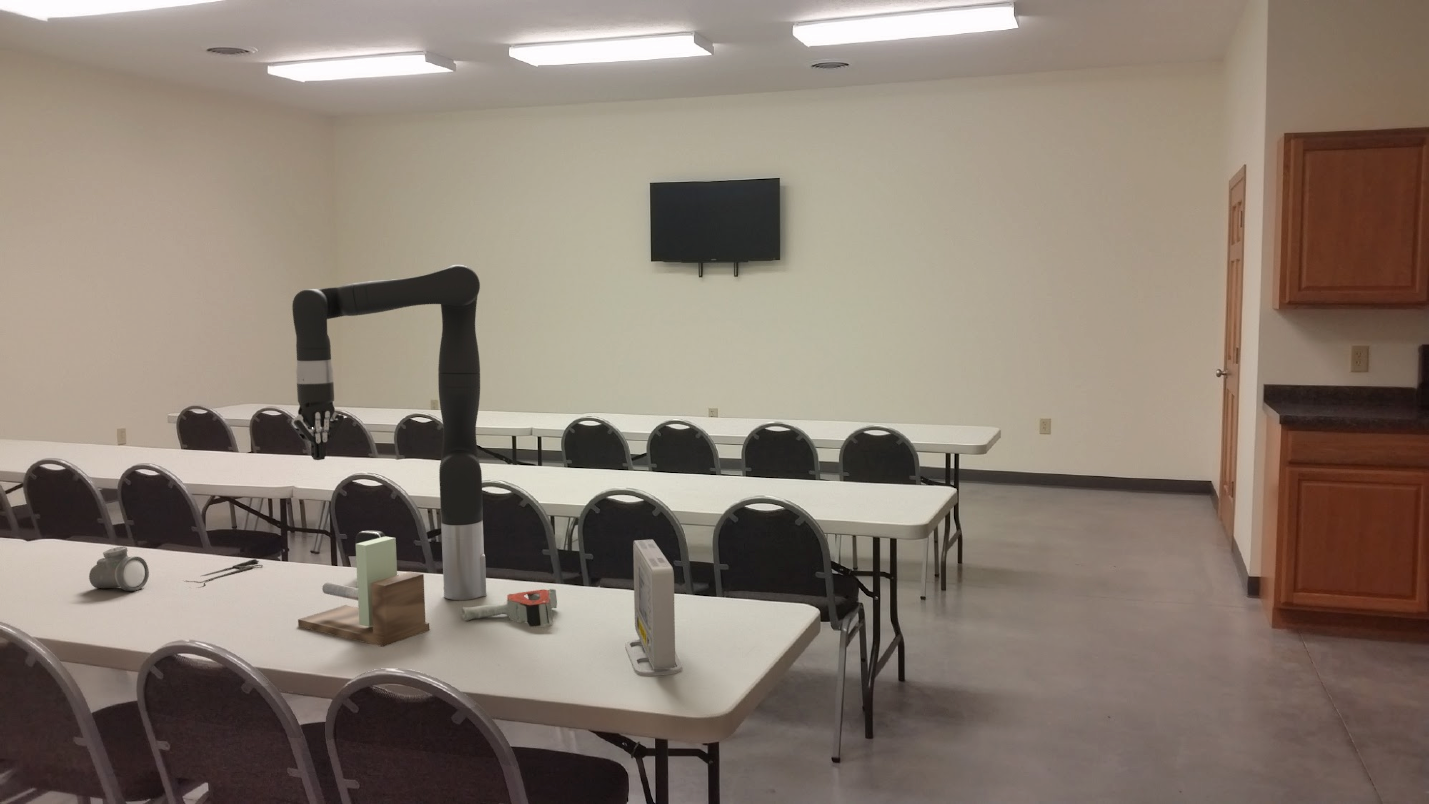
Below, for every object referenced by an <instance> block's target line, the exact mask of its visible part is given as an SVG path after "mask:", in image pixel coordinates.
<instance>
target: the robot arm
mask: <svg viewBox="0 0 1429 804" xmlns="http://www.w3.org/2000/svg"><path fill="white" fill-rule="evenodd" d="M480 289H481V283H480V279H479V277H478V275H477V273H476V272H475V271H474V270H473V269H472V268H470V267H469V266H466V265H463V264H452V265H450V266H448V267H446V268H444V269H441V270H438V271H434V272H430V273H427V274H423V275H419V276H412V277H405V278H404V277H403V278H394V279H380V280H379V279H378V280H370V281H369V280H368V281H361V282H354V283H349V284H344V285H341V286H336V287H325V288H324V287H323V288H305V289H302V290H300V291H299V292H297V293H296V294H295V296H294V298H293V299H292V306H291V310H292V319H293V325H294V332H295V335H296V337H295V338H296V339H295V340H296V342H295V343H296V345H295V347H296V348H295V350H296V371H295V373H296V391H297V396H296V397H297V403H298V404H299V407H298V410H297V414H298V415H296V417H295V418H294V419H290V420H289V421H288V423H289V426H290V427H292V429H293V430H294V431H295V432H296V434H297V435H298V436H299V438H300V439H301V440H302V441H303V442H308V443H310V456H311V457H312V459H313V461H322V460H325V458H326V456H327V445H326V444H327V442H328V441H329V440H330V439H333V438H334V437H335V436H336V433H337V431H338V430H339V428H340V426H341V424H342V422H343V421H344V419H345V416H344V415H343V414H339V413H337V412H336V409H335V406H334V404H333V402H335V388H334V387H335V386H334V384H335V383H334V369H333V363H332V353H331V352H332V350H331V348H332V347H331V346H332V345H331V340H330V337H329V334H328V320H330V319H336V318H341V317H355V316H362V315H363V316H364V315H370V314H379V313H383V312H389V311H394V310H399V309H403V308H409V307H416V306H426V305H440V309H441V310H440V311H441V323H442V324H441V325H442V329H441V331H442V332H441V338H440V345H439V355H438V356H439V357H438V366H437V367H438V369H437V371H438V375H437V376H438V377H437V378H438V380H437V381H438V383H437V384H438V385H437V386H438V397H439V408H440V414H441V420H442V429H443V430H442V431H443V432H442V433H443V434H442V446H441V447H442V448H441V449H442V450H441V457H440V464H439V468H438V469H439V470H438V471H439V478H438V479H439V480H438V481H439V498H440V501H439V502H440V521H441V522H440V523H441V525H440V526H441V547H442V548H441V549H442V569H443V570H442V573H443V574H442V576H443V579H442V581H443V597H444V598H445V599H448V600H453V601H465V600H466V601H467V600H472V599H474V600H475V599H478V598H481V597H486V596H487V577H486V574H487V571H486V555H485V551H484V550H485V549H484V546H485V545H484V524H483V523H484V522H483V519H484V517H483V511H484V510H483V507H484V506H483V504H484V503H483V475H482V468H481V467H482V466H481V465H480V463H481V462H480V460H479V454H478V453H479V451H478V445H477V421H478V413H479V406H480V399H481V363H480V353H479V346H478V340H477V333H476V331H477V330H476V316H477V304H478V295H479V293H480V291H481V290H480Z"/></svg>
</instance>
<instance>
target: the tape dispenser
mask: <svg viewBox="0 0 1429 804" xmlns="http://www.w3.org/2000/svg"><path fill="white" fill-rule="evenodd" d="M526 595H527V597H526ZM506 596H507V599H506V601H505V602H503V603H495V604H494V603H493V604H486V605H478V606H471V607H467V606H462V608H461V613H462V617H463V618H462V619H464V621H466V622H468V621H470V620H474V619H475V620H476V619H483V618H490V617H496V616H500V615H501V616H502V615H505V616H508V617H509V620H512V621H514V622H517V623H519V624H523V623H524V624H525V623H527V625H528V626H529V627H530V628H531V627H532V628H539V627H550V626H552V625H553V623H554V619H553V610H552V609H557V607H558V602H557V601H558V599H557V598H558V597H557V590H556V588H550V589H538V590H537V589H536V590H528V591H522V592H521V591H520V592H516V593H509V594H507V595H506Z"/></svg>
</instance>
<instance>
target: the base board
mask: <svg viewBox="0 0 1429 804" xmlns="http://www.w3.org/2000/svg"><path fill="white" fill-rule="evenodd" d="M371 598H372V620H373V626H370V627H368V626H364V625H360V624H359V607H356V606H352V605H347V604H344V605H341V606H337V607H334V608H332V609H327V610H325V611H321V612H318V613H314V614H312V615H309V616H308V615H307V616H305V617H302V618H301V617H300V618H298V619H297V622H298V625H297V626H298V627H300V628H303V629H308V630H311V629H312V630H311V631H315V632H321V633H326V634H329V635H333V636H337V637H342V638H345V639H349V640H353V641H358V642H362V643H365V644H369V645H370V644H371V645H374V646H378V647H384V648H385V647H386V646H389V645H392V644H394V643H397V642H400V641H403V640H405V639H409V638H411V637H415V636H417V635H420V634H422V633H426V632H428V631H430V622H426V605H425V604H426V602H425V599H426V598H425V577H424V573H421V572H420V573H419V572H413V571H407V572H405V573H400V574H397V576H393V577H390V578H386V579H383V580H379V581H376V582H373V583H371Z"/></svg>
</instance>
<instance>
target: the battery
mask: <svg viewBox="0 0 1429 804" xmlns="http://www.w3.org/2000/svg"><path fill="white" fill-rule="evenodd" d="M385 536H386V535H385V533H384V532H383V531H380V530H362V531H359V532H358V533H357V534H356V536H355V545H356V544H357V543H361V542H365V541H369V540H373V539H377V538H381V537H385Z"/></svg>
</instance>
